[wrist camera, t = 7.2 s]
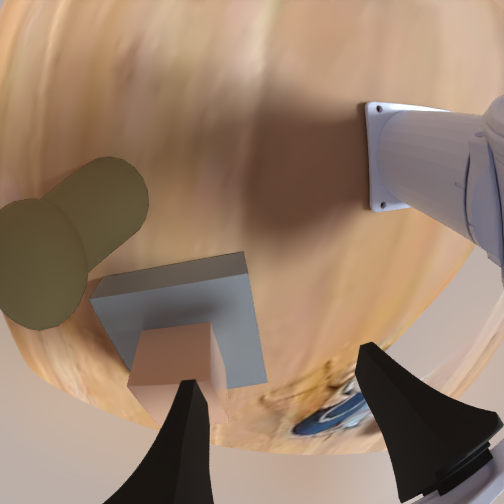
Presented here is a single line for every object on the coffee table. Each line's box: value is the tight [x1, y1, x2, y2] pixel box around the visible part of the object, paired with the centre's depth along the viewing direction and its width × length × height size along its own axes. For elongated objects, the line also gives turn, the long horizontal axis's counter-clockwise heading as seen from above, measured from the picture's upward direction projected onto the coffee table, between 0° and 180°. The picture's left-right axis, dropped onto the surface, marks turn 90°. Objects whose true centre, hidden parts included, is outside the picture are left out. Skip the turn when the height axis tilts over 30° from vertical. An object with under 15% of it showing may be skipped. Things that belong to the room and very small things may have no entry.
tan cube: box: [127, 322, 229, 426], centre depth 16 cm, size 5×5×5 cm
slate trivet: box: [89, 252, 268, 389], centre depth 20 cm, size 11×11×3 cm
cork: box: [0, 157, 149, 331], centre depth 11 cm, size 6×6×11 cm
